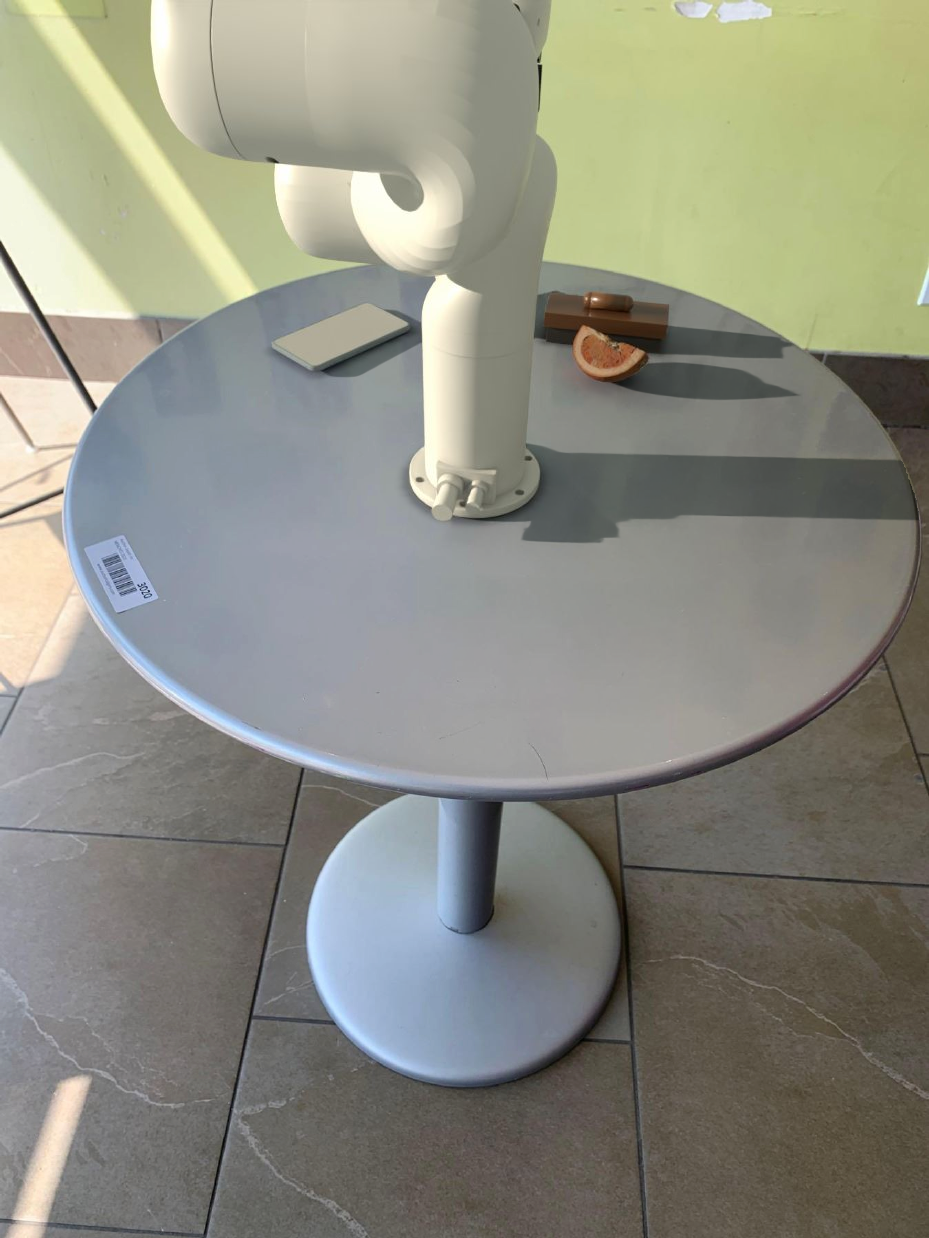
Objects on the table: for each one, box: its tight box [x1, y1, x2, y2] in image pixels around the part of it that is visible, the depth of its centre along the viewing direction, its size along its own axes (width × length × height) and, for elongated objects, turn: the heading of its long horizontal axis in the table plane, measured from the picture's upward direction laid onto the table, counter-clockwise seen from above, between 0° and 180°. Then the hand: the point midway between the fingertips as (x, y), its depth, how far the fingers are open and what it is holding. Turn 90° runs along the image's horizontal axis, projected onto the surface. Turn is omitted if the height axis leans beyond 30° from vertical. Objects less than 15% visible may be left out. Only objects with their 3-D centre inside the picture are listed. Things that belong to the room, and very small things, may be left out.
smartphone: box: [271, 302, 411, 373], centre depth 106 cm, size 8×1×15 cm
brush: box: [543, 291, 670, 354], centre depth 105 cm, size 5×14×6 cm, turn 79°
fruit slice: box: [572, 325, 650, 383], centre depth 99 cm, size 8×7×5 cm
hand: (513, 131), depth 80 cm, fingers open, 9 cm apart
